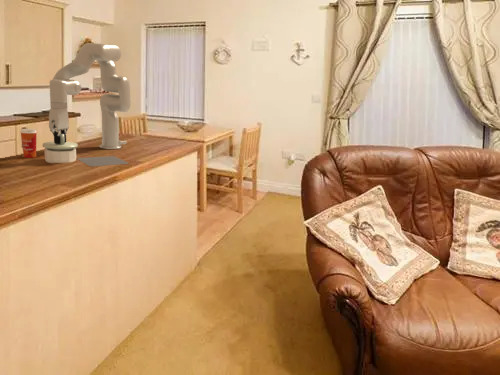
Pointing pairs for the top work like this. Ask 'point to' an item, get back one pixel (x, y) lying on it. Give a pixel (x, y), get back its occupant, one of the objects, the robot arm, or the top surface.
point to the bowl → (60, 155)
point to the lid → (60, 146)
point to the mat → (102, 161)
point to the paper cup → (29, 142)
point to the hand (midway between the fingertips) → (60, 142)
